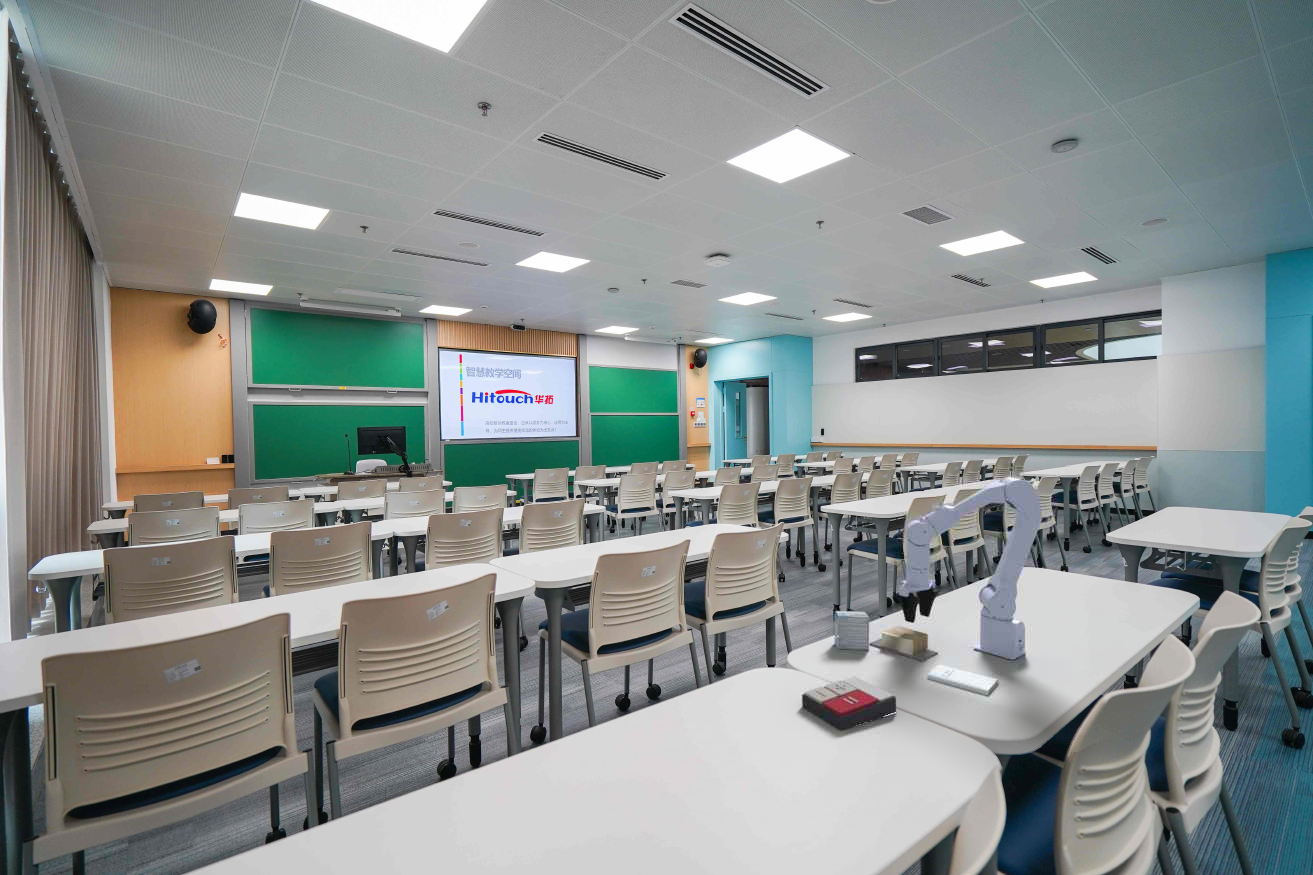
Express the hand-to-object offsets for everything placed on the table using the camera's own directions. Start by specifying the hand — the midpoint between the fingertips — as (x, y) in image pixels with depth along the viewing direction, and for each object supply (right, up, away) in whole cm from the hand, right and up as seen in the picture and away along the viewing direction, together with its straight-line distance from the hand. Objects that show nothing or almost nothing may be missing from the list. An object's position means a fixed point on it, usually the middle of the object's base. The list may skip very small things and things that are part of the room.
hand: (917, 618), depth 156 cm
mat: (-5, -7, -4) cm, 9 cm away
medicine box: (-18, -7, -3) cm, 20 cm away
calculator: (-30, -8, -36) cm, 48 cm away
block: (-2, -4, -1) cm, 5 cm away
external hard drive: (0, -8, -23) cm, 24 cm away
